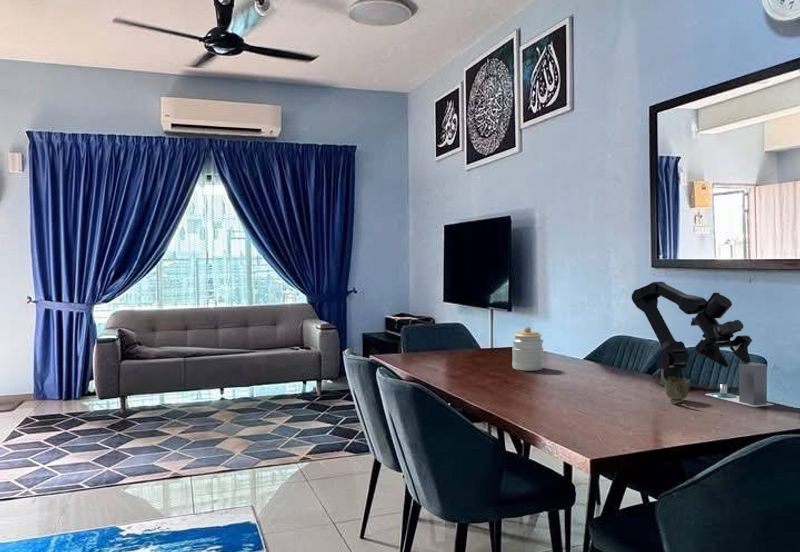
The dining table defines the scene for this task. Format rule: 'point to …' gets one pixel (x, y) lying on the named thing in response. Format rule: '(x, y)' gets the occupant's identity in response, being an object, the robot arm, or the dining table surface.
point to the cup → (676, 389)
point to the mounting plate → (740, 402)
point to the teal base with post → (723, 392)
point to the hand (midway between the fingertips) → (738, 365)
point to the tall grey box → (753, 383)
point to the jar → (527, 351)
